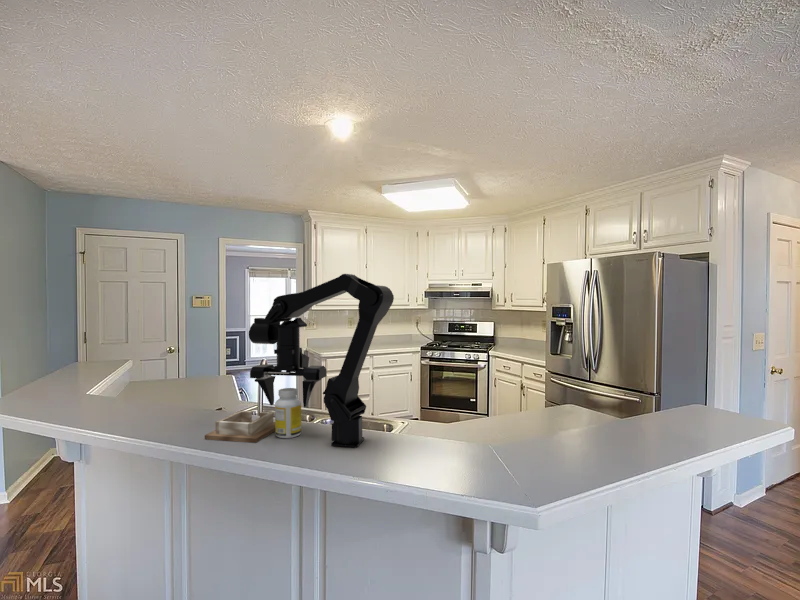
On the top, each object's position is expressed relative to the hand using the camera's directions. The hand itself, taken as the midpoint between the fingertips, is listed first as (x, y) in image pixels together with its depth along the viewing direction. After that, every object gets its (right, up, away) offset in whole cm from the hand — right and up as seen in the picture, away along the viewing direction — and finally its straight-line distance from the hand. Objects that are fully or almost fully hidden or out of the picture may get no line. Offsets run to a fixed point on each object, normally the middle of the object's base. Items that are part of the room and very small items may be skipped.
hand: (288, 405), depth 110 cm
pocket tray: (-12, -8, +2) cm, 14 cm away
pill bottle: (0, -8, 0) cm, 8 cm away
